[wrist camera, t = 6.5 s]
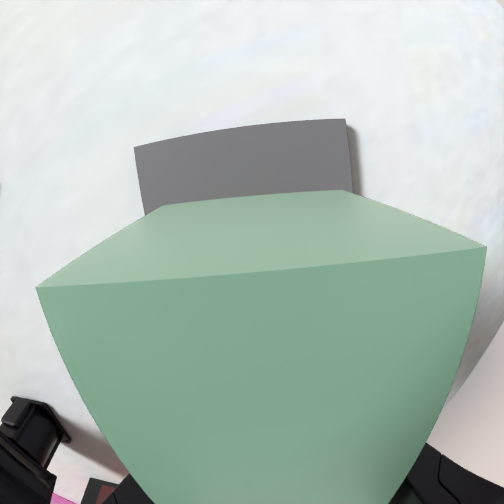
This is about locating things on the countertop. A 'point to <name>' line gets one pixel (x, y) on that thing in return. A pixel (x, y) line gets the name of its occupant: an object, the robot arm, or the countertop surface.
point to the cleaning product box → (97, 491)
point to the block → (268, 344)
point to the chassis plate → (245, 162)
